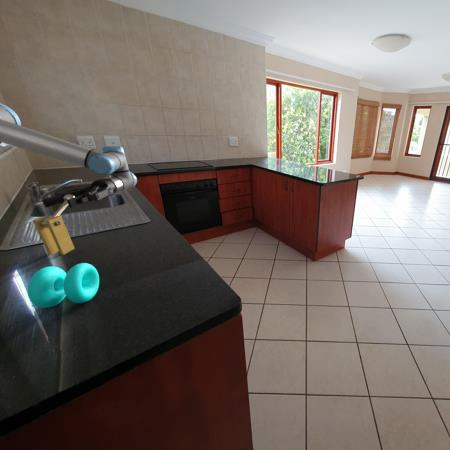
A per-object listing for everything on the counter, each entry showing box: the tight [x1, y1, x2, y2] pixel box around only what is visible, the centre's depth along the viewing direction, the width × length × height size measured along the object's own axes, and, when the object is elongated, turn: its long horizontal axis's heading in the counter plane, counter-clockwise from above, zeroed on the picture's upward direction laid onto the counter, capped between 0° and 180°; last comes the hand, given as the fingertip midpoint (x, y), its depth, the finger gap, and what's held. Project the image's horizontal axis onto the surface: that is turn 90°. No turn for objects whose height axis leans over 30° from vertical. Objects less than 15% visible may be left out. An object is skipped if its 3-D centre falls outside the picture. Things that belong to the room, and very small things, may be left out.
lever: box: [41, 194, 75, 229], centre depth 81 cm, size 14×3×3 cm, turn 1°
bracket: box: [32, 215, 75, 256], centre depth 79 cm, size 10×8×14 cm
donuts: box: [27, 262, 100, 309], centre depth 59 cm, size 10×10×10 cm
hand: (57, 203), depth 80 cm, fingers open, 8 cm apart
